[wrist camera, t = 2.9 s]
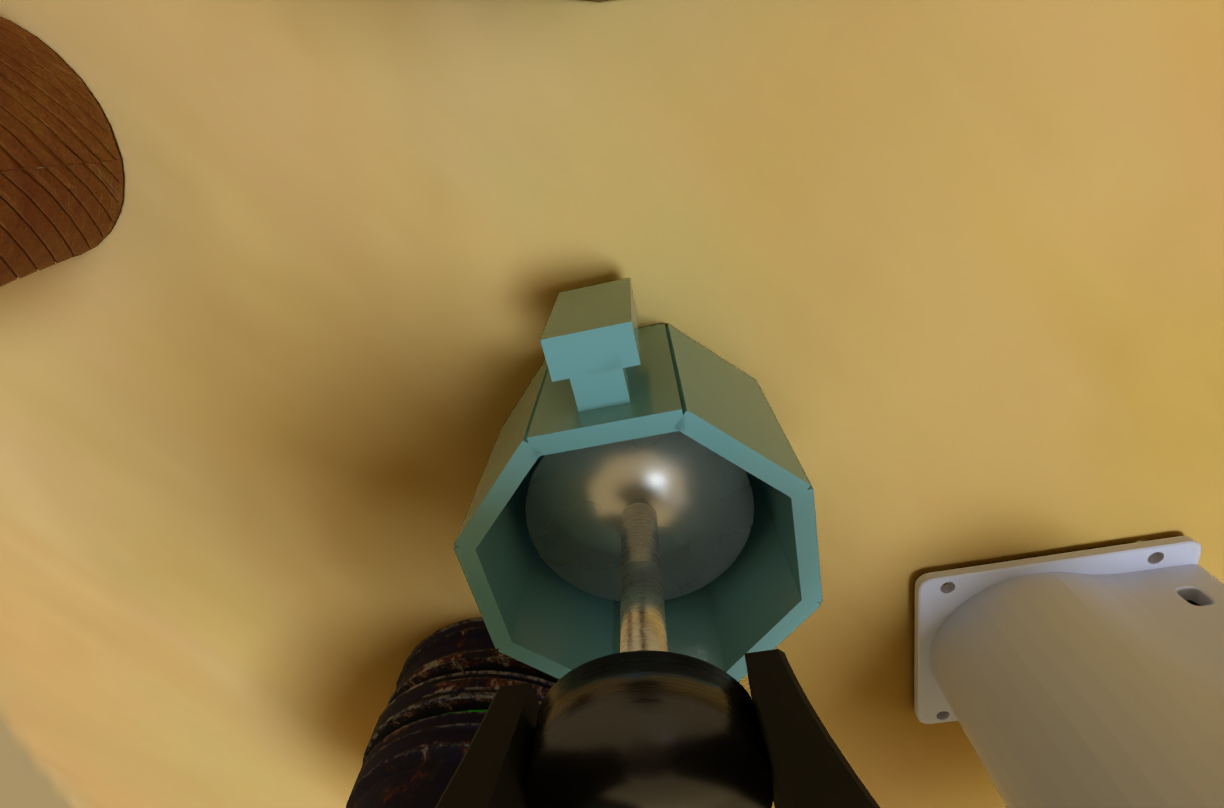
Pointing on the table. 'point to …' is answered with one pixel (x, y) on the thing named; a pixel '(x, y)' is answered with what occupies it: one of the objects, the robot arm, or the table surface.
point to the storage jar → (436, 716)
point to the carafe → (624, 410)
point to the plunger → (644, 631)
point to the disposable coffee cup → (50, 160)
